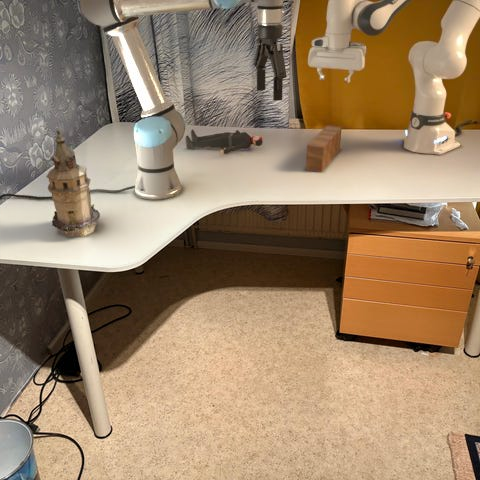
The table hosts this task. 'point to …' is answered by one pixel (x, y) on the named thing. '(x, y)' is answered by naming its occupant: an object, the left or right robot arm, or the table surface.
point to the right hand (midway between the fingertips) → (334, 81)
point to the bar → (323, 148)
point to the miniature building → (70, 193)
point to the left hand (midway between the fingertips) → (269, 95)
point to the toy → (224, 141)
